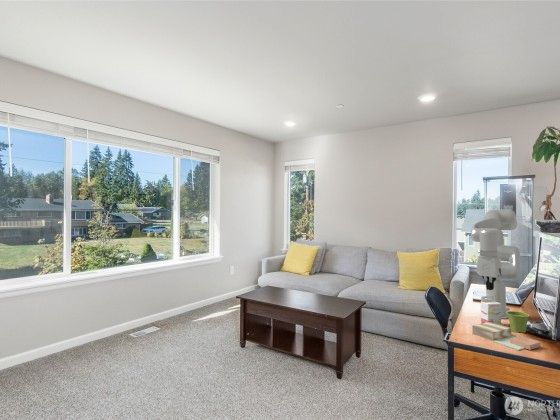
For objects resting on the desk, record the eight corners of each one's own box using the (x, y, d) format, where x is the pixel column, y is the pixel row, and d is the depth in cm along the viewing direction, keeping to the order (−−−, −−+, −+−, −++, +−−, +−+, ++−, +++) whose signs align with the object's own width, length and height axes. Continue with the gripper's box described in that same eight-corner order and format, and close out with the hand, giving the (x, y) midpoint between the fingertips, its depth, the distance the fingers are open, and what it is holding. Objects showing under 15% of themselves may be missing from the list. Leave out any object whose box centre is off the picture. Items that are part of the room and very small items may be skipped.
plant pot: (502, 329, 159) (502, 312, 160) (513, 326, 163) (513, 310, 164) (522, 335, 151) (522, 317, 151) (534, 332, 155) (533, 315, 155)
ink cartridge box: (488, 326, 164) (488, 298, 164) (480, 323, 169) (480, 296, 169) (501, 325, 166) (501, 297, 166) (493, 322, 171) (493, 295, 171)
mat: (513, 336, 150) (513, 335, 150) (539, 344, 140) (539, 343, 140) (493, 341, 143) (493, 340, 143) (518, 350, 134) (518, 349, 134)
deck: (490, 329, 159) (490, 321, 159) (511, 336, 150) (511, 327, 150) (472, 333, 153) (472, 325, 153) (493, 341, 144) (493, 332, 144)
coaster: (540, 342, 137) (540, 346, 137) (520, 335, 144) (520, 340, 144) (529, 345, 133) (529, 349, 133) (509, 338, 141) (509, 343, 141)
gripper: (469, 252, 163) (470, 287, 163) (500, 256, 149) (501, 294, 149) (478, 251, 166) (479, 285, 166) (509, 254, 153) (510, 291, 153)
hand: (489, 289), depth 158 cm, fingers closed
